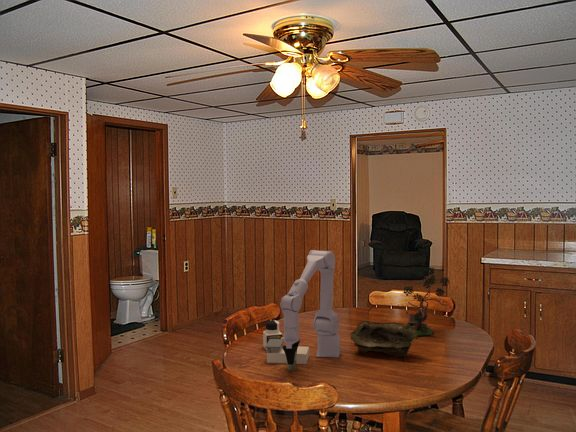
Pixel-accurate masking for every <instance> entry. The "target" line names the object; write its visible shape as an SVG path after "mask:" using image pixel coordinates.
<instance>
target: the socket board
mask: <svg viewBox="0 0 576 432" xmlns="http://www.w3.org/2000/svg"><path fill="white" fill-rule="evenodd" d="M283 343H285V342H284V340H281V339H270V340H269V341H268V343H267V344H266V346H265V348H268V351H266V363H267V364H286V365H287V359H286V355H285V352H284V350H283V346H284V345H283V346H281V345H282V344H283ZM265 348H264V349H265ZM309 358H310V346H300V345H298V348H297V354H296V365H308V362H309Z"/></svg>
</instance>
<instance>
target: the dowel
mask: <svg viewBox="0 0 576 432" xmlns="http://www.w3.org/2000/svg"><path fill="white" fill-rule="evenodd" d="M286 366H287V367H286V370H287V371H290V372H294V371H297V364H296V353H295V359H294V364H293V365H288V363H287V364H286Z"/></svg>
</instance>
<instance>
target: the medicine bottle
mask: <svg viewBox="0 0 576 432" xmlns="http://www.w3.org/2000/svg"><path fill="white" fill-rule="evenodd" d="M281 337H283V333H282V332H281V331H280V321H278V320H275V319H273V320H272V319H271V320H267V321H266V322H265V330H263V331H262V338H263V339H262V344H263V345H262V346H263V348H264V349H265V351H266V352H268V348H265V346H266V344H267V343H268V341H269V340H270V339H281ZM281 346H284V345H283V344H282V345H281Z"/></svg>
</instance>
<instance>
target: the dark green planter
mask: <svg viewBox="0 0 576 432" xmlns="http://www.w3.org/2000/svg"><path fill="white" fill-rule="evenodd" d="M405 325H406V324H404V323H400V322H393V321H392V322H385V323H384V322H383V323H382V322H377V321H376V322H375V321H374V322H370V321H368V320H364V321H361V322H359V323H358V324H357V326H356V329H355V330H354V331H352V332H351V333H350V340H352V342H353V343H354V344H353V345H354V346H355V347H356V348H357V349H358V350H360V352H361V353H362V354H366V353H367V352H372V351H373V352H378V353H379V352H381V353H384V354H385V355H393V356H397V357H403V358H407V355H408V352H409V350H410V349H411V346H412V342H413V341H414V340H418V336H417V330H416V329H414V328H412V327H407V326H405Z"/></svg>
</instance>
